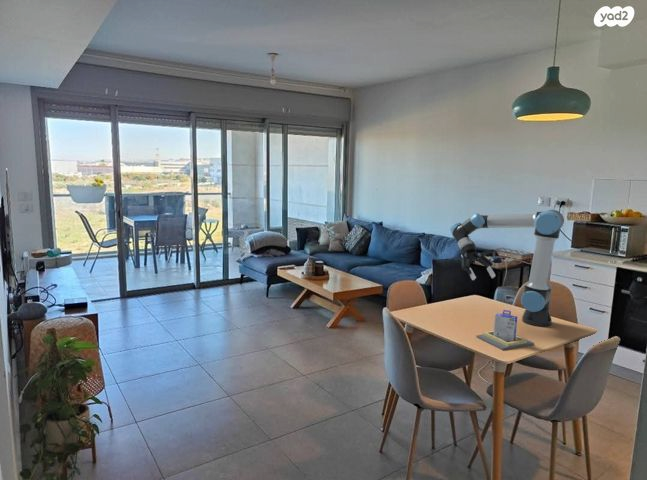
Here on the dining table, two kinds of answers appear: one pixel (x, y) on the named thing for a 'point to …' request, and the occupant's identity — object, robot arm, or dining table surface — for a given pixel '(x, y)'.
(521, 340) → the dock
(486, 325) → the dining table surface
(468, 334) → the dining table surface
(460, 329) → the dining table surface
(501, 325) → the ink cartridge box
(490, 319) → the dining table surface
